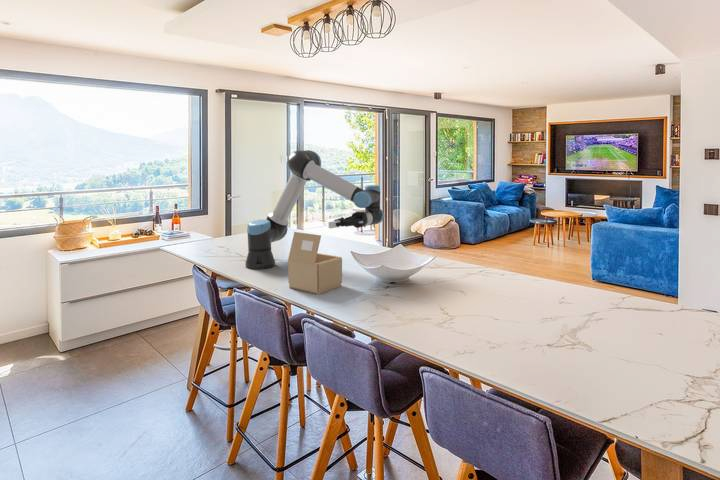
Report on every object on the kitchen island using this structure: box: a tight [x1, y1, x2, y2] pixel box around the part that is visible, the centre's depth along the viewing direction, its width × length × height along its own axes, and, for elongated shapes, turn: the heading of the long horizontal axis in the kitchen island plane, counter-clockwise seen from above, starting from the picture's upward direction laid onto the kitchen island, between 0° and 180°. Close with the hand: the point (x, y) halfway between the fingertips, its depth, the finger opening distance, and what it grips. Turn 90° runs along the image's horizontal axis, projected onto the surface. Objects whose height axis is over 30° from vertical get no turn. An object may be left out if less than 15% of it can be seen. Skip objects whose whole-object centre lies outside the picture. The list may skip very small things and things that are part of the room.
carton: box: [287, 252, 343, 295], centre depth 206 cm, size 18×17×13 cm
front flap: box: [287, 231, 322, 264], centre depth 198 cm, size 15×1×12 cm, turn 54°
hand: (329, 225), depth 209 cm, fingers closed
